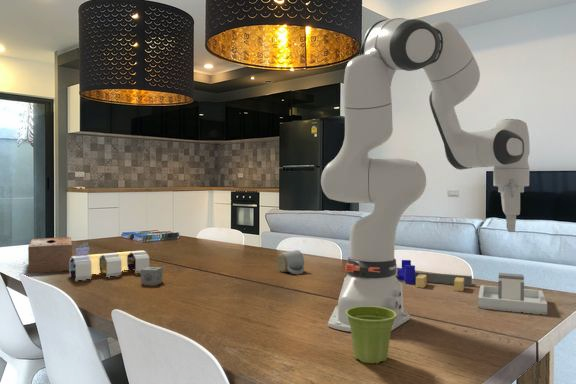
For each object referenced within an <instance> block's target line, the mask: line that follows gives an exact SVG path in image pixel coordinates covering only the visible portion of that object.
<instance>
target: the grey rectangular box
mask: <svg viewBox="0 0 576 384" xmlns="http://www.w3.org/2000/svg"><path fill="white" fill-rule="evenodd" d="M524 276H525V275H524V274H520V273H519V274H518V273H507V272H498V283H497V285H498V286H497V287H498V299H509V300H519V301H524V289H525V277H524Z"/></svg>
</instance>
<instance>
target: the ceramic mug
mask: <svg viewBox="0 0 576 384" xmlns="http://www.w3.org/2000/svg"><path fill="white" fill-rule="evenodd" d="M276 264H277V268H278V270H279V271H280V272H282V273H290V274H294V275H302V274H303V273H304V271H305V270H304V269H305V267H304V266H305V258H304V255H303V253H302V252H301V250H298V249H296V250H291V251H285V252H282V253H280V254H279V255H277V258H276Z"/></svg>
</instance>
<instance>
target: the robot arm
mask: <svg viewBox="0 0 576 384" xmlns="http://www.w3.org/2000/svg"><path fill="white" fill-rule="evenodd" d="M346 64H347V65H346V66H345V71H344V76H343V110H344V111H343V112H344V139H343V142H342V146H341V148H340V150H339V152H338V153H337V155H336V156H335V157H334V159H332V160H331V161H330V162H328V163H327V164H326V165H325V167H324V169H323V170H322V173H321V176H320V185H321V189H322V192H323V194H324V195H325V196H326V197H327V198H328V199H329V200H333V201H337V202H342V203H352V204H353V203H354V204H355V203H357V204H358V203H359V204H362V203H364V204H374V207H373V211H372V213H370V214H368V215H365V216H364V217H362V218H359V219H357V220H356V221H355V222H353V224H351V227H350V229H349V257H348V258H347V262H346V263H345V267H344V269H345V272H346V274H347V275H346V276H345V277H344V278H343V283H342V286H341V290H340V293H339V295H338V296H339V297H338V301H337V305H336V306H335V307H334V309H333V311H332V313H331V316H330V318H329V320H328V321H327V326H328V327H330V328H332V329H335V330H339V331H344V332H350V333H351V327H350V323H349V320H348V316H347V315H346V310H348V309H350V308H353V307H359V306H375V307H382V308H387V309H390V310H392V311H394V312H395V313H396V318H395V319H394V323H393V325H392V329H391V332H392V331H393V330H394V331H395V329H397V328H398V327H400V326H402V325H403V324H404V323H406V322H407V321H409V320H410V319H411V315H410V314H409V313H408V312H405V311H404V299H403V298H404V296H403V295H404V294H403V284H402V283H401V280H399V279H398V277H397V268H398V266H397V259H396V258H395V245H396V244H395V243H396V234H397V227H398V225H399V221H400V220H401V217H402V215H403V214H404V213H405V211H406V210H407V209H408V208H409V207H410V206H411V205H413V204H414V203H415V202H417V201H418V200H419V199H420V198H421V197H422V195H423V194H424V192H425V190H426V186H427V176H426V172H425V170H424V168H423V167H422V165H421V164H420V163H419V162H418V161H414V160H410V159H403V158H370V157H369V153H370V152H371V151H372V150H374V149H375V148H378V147H379V146H382V145H383V144H384V143H386V142H387V141H388V140H389V139H390V138H391V137H392V134H393V132H394V131H393V104H392V103H393V101H392V90H391V89H392V88H391V87H392V81H393V78H394V75H395V74H396V71H408V72H411V71H417V70H421V69H423V70H424V71H423V72H425V75H426V77H427V79H428V80H429V82H430V85H431V92H430V93H429V96H428V97H429V106H430V110H431V113H432V116H433V119H434V121H435V124H436V127H437V129H438V132H439V134H440V137H441V139H442V142H443V146H444V152H445V157H446V160H447V161H448V162H449V164H450V165H451V166H452V167H453V168H455V169H456V170H468V169H474V168H475V169H476V168H490V167H491V168H492V167H493V173H492V174H493V177H492V178H493V179H492V180H493V187H497V189H498V190H497V192H498V193H500V197H501V198H500V199H501V207H502V212H503V213H504V215H505V219H506V220H505V222H506V229H507V232H508V233H515V232H516V222H517V216H519V215H521V193H524V192H525V187H529V186H530V165H529V156H530V147H531V146H530V145H531V144H530V135H529V134H530V133H529V128H528V125H527V123H526V122H525V121H523V120H521V119H516V118H514V119H513V118H506V119H500V120H499V121H498V122H496V125H495V127H493V128H491V129H488V130H483V131H471V132H470V131H465V130H463V129H462V127H461V125H460V122H459V119H458V116H457V113H456V110H455V107H456V106H457V105H459V104H460V103H462V102H464V101H466V100H467V99H468V97H470V96H471V95H472V94H473V93H474V91H475V90H476V88H477V87H478V84H479V81H480V78H481V72H480V68H479V65H478V63H477V60H476V58H475V56H474V54H473V52H472V50H471V49H470V47H469V45H468V44H467V42H466V41H465V39H464V37H463V36H462V34H460V32H459V31H458V29H457V28H456V27H455V25H453V24H452V23H451V22H448V21H443V20H442V21H441V20H440V21H435V22H433V23H431V24H429V23H428V22H426V21H424V20H421V19H417V18H411V19H410V18H403V17H396V18H395V17H394V18H389V19H381V20H378V21H377V22H375V23H373V24H372V25H371V26H370V27H369V28H368V29H367V31H366V32H365V35H364V36H363V40H362V45H361V47H360V49H359V53H358V55H357V56H355V57H353V58H352V59H350V60H349V61H348V63H346Z"/></svg>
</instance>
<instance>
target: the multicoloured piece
mask: <svg viewBox="0 0 576 384" xmlns="http://www.w3.org/2000/svg"><path fill="white" fill-rule="evenodd" d="M89 251H90V247H89V243H88V242H83V243H82V247H81V245H79V247H78V248H77V247H76V248H75V252H76V255H72V257H71V258H70V270H69V276H70V278H75V279H74V281H75V282H79V281H78V280H82V281H87V280H86V279H90V280H92V276H93V275H92V274H96V275H100V274H99V273H105V278H106V277H108V278H111V277H110V276H116V277H119V276H118V275H121V276H122V271H123V272H125V271H124V270H132V271H134V274H135V273H141V270H142V269H144V268H147V267H150V255H149V254H148V253H147V251H146V250H132V251H122V252H120V251H119V252H110V253H109V252H108V253H107V252H106V253H96V254H89ZM133 269H136V270H133ZM74 276H76V277H74Z"/></svg>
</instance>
